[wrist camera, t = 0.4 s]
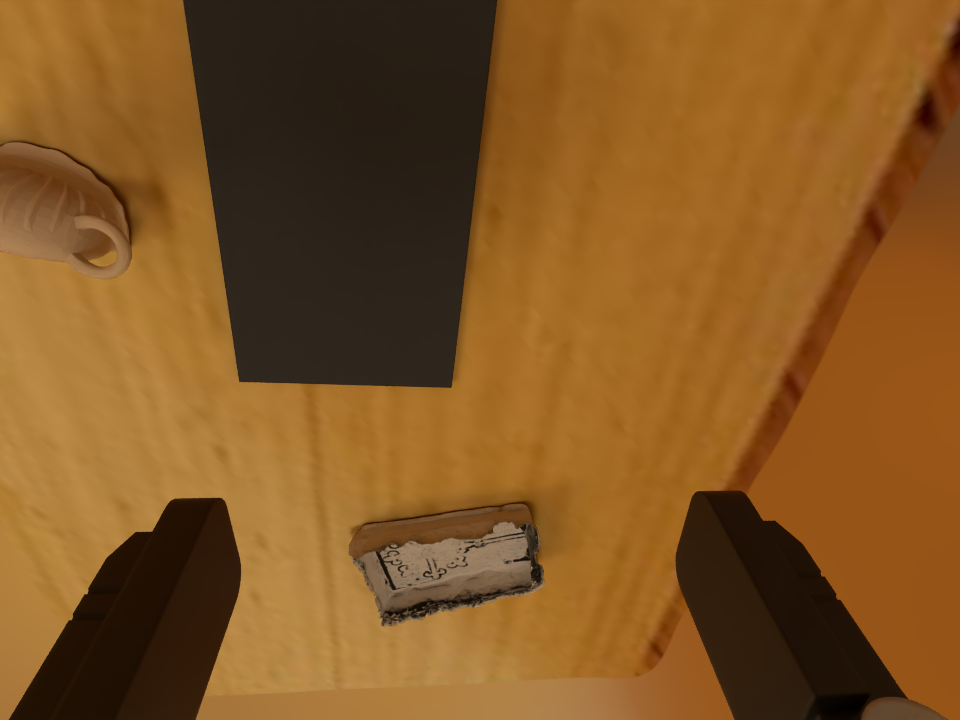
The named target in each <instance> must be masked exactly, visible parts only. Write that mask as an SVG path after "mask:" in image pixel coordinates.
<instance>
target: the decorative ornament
mask: <svg viewBox="0 0 960 720" xmlns="http://www.w3.org/2000/svg"><path fill="white" fill-rule="evenodd" d="M0 251H1V252H5V253H10V254H14V255H18V256H23V257H27V258H33V259H41V260H49V261H58V262H67V263H68V264H69V265H70V266H71V267H73V268H74V269H75V270H76V271H78V272H79V273H81V274H84V275H86V276H89V277H92V278H99V279H112V278H115V277H118V276H119V275H121V274H123V273H124V272H125V271H126V270H127V268H128V267H129V265H130V262H131V259H132V250H131V245H130V238H129V229H128V224H127V221H126V218H125V213H124V208H123V206H122V204H121V203H120V202H119V201H118V200H117V199H116V197H115V195H114V194H113V192H112V190H111V189H110V188H109V186H107V185H105V184H103V183H102V182H100V181H99V180H98V179H97V178H96V177H95V175H94V174H93V173H92V171H90V170H89V169H87V168H85V167H83V166H81V165H79V164H77V163H76V162H75V161H73V160H72V159H71V158H70V157H68V156H67V155H65V154H64V153H62V152H60V151H57V150H52V149H45V148H40V147H37V146H34V145H31V144H27V143H21V142H13V143H7V144H5V145H3V146H1V147H0ZM110 251H117V252H118V254H117V259H116V261H115V262H114V263H113V264H111V265H109V266H107V267H99V266H96V265H94V264H92V263H90V262H89V261H88V260H93V259H97V258H99V257H102V256H104V255H105V254H107V253H108V252H110Z"/></svg>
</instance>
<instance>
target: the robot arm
mask: <svg viewBox="0 0 960 720" xmlns="http://www.w3.org/2000/svg"><path fill="white" fill-rule="evenodd" d="M676 572H677V578H678V582H679V586H680V589H681V591H682V594H683V596H684V598H685V601H686V603H687V606H688V608H689V610H690V613H691V615H692V618H693V620H694V622H695V625H696V627H697V630H698V632H699V635H700V637H701V639H702V642H703V644H704V647H705V649H706V651H707V654H708V656H709V659H710V661H711V664H712V666H713V668H714V671H715V673H716V676H717V678H718V681H719V683H720V685H721V688H722V690H723V693H724V695H725V697H726V700H727V702H728V705H729V707H730V709H731V712H732V714H733V717H734V719H735V720H948V719H946V718H945V717H943V716H942V715H940V714H939V713H937V712H936V711H934V710H932V709H930V708H929V707H927V706H925V705H922V704H920V703H918V702H915V701H912V700H909V699H908V698H907V697H906V696H905V694H904V693H903V692H902V691H901V689H900V688H899V686H898V685H897V684H896V682H895V680H894V679H893V677H892V676H891V674H890V673H889V671H888V670H887V668H886V667H885V665H884V664H883V662H882V661H881V659H880V658H879V656H878V655H877V654H876V652H875V651H874V649H873V648H872V646H871V645H870V643H869V642H868V640H867V639H866V637H865V636H864V635H863V633H862V631H861V630H860V629H859V627H858V625H857V624H856V622H855V621H854V619H853V618H852V617H851V615H850V614H849V612H848V611H847V609H846V608H845V606H844V605H843V603H842V602H841V600H837V598H836V593H835V591H834V590H833V588H832V587H831V585H830V584H829V583H828V581H827V580H826V578H825V577H822V576H821V574H820V573H821V571H820V569H819V568H818V566H817V565H816V563H815V562H814V560H813V559H812V557H811V556H810V554H809V553H808V551H807V550H806V548H805V547H804V545H803V544H802V543H801V542H800V541H798V540H797V539H796V538H795V537H794V536H792V535H791V534H790V533H789V532H788V531H787V530H785V529H784V528H783V527H782V526H781V525H779V524H778V523H777V522H776V521H763V520H762V519H761V517H760V515H759V514H758V512H757V511H756V509H755V507H754V506H753V504H752V503H751V501H750V499H749V498H748V497H747V495H746V494H745V493H743V492H742V491H697V492H695V494H694V495H693V497H692V499H691V502H690V506H689V509H688V513H687V516H686V520H685V523H684V527H683V530H682V534H681V537H680V541H679V544H678V548H677V552H676ZM240 581H241V563H240V557H239V553H238V549H237V545H236V541H235V537H234V533H233V529H232V525H231V521H230V517H229V513H228V509H227V506H226V503H225V501H224V500H223V499H222V498H182V499H173V500H171V501H170V502H169V503H168V505H167V506H166V508H165V510H164V511H163V513H162V515H161V517H160V519H159V521H158V522H157V524H156V526H155V528H154V530H153V531H152V532H135V533H134V534H133V535H132V536H131V537H130V538H129V539H127V540H126V541H125V542H124V543H123V544H122V545H121V546H120V547H118V548H117V549H116V550H115V551H114V552H113V553H112V554H111V555H110V556H108V557H107V558H106V560H105V562H104V563H103V565H102V567H101V568H100V570H99V572H98V573H97V575H96V576H95V578H94V580H93V581H92V583H91V585H90V586H89V588H88V589H89V591H88V594H85V595H84V596H83V598H82V600H81V601H80V603H79V605H78V606H77V608H76V610H75V611H74V613H73V619H72V620H69V621H68V623H67V624H66V626H65V628H64V629H63V631H62V633H61V634H60V636H59V638H58V639H57V641H56V643H55V644H54V646H53V648H52V649H51V651H50V652H49V654H48V656H47V657H46V659H45V661H44V662H43V664H42V666H41V667H40V669H39V671H38V673H37V674H36V676H35V678H34V679H33V681H32V682H31V684H30V686H29V687H28V689H27V690H26V692H25V694H24V695H23V697H22V699H21V700H20V702H19V704H18V705H17V707H16V709H15V711H14V712H13V714H12V715H11V717H10V719H9V720H196V717H197V714H198V711H199V708H200V705H201V702H202V699H203V696H204V694H205V691H206V688H207V685H208V682H209V679H210V676H211V673H212V670H213V667H214V664H215V661H216V659H217V656H218V653H219V650H220V647H221V644H222V641H223V638H224V635H225V632H226V629H227V627H228V624H229V621H230V618H231V615H232V612H233V609H234V606H235V603H236V600H237V597H238V593H239V588H240Z"/></svg>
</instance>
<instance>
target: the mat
mask: <svg viewBox="0 0 960 720" xmlns="http://www.w3.org/2000/svg"><path fill="white" fill-rule="evenodd" d="M183 2H184V9H185V15H186V22H187V29H188V36H189V43H190V50H191V56H192V63H193V70H194V77H195V84H196V90H197V97H198V104H199V111H200V118H201V124H202V131H203V138H204V145H205V152H206V158H207V165H208V172H209V179H210V186H211V192H212V199H213V206H214V213H215V220H216V227H217V233H218V240H219V247H220V254H221V261H222V267H223V274H224V281H225V288H226V295H227V301H228V308H229V315H230V322H231V329H232V335H233V342H234V349H235V356H236V363H237V369H238V376H239V382H265V383H301V384H337V385H373V386H409V387H445V388H451V387H452V379H453V370H454V362H455V353H456V345H457V337H458V328H459V320H460V311H461V303H462V294H463V286H464V277H465V269H466V260H467V252H468V243H469V235H470V226H471V218H472V209H473V201H474V192H475V184H476V175H477V167H478V158H479V150H480V141H481V133H482V124H483V116H484V107H485V99H486V90H487V82H488V73H489V65H490V56H491V48H492V39H493V31H494V22H495V14H496V6H497V0H183Z"/></svg>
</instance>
